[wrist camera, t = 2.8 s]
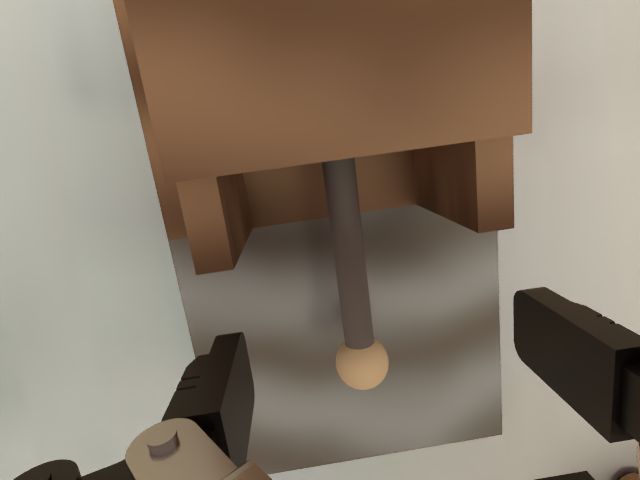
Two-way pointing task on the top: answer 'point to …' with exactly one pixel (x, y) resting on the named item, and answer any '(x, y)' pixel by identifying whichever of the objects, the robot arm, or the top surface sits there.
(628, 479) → the block
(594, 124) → the top surface
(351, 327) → the cord block
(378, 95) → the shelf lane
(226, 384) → the robot arm
